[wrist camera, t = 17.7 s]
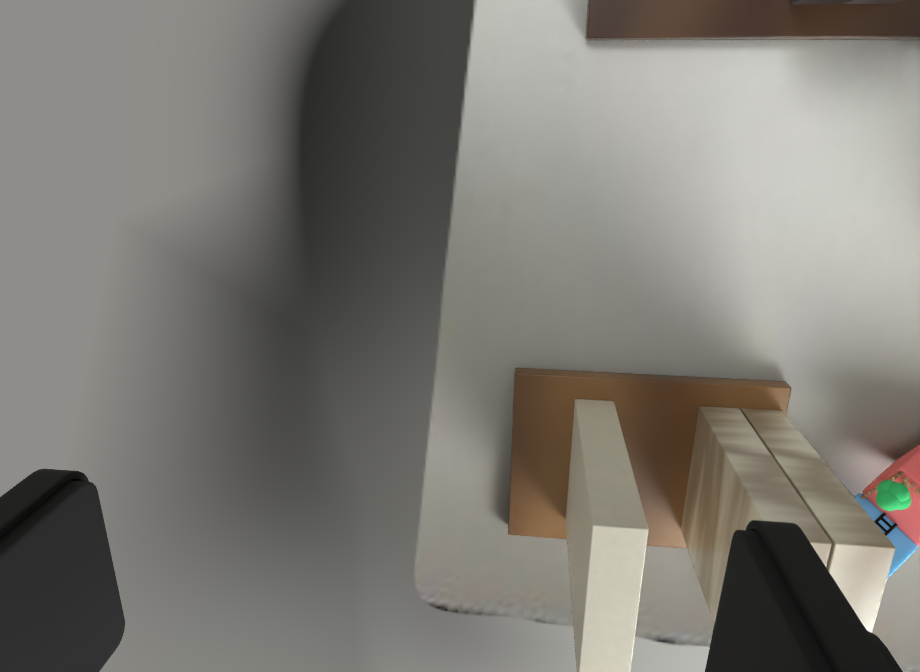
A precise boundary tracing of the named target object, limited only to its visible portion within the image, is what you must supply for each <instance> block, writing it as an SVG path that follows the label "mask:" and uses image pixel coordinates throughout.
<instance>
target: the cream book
mask: <svg viewBox="0 0 920 672" xmlns="http://www.w3.org/2000/svg"><path fill="white" fill-rule="evenodd" d="M648 530H649V529H648V526H647V522H646V518H645V515H644V511H643V507H642V503H641V500H640V496H639V492H638V489H637V485H636V481H635V478H634V474H633V470H632V467H631V463H630V459H629V455H628V452H627V448H626V444H625V441H624V437H623V433H622V430H621V426H620V422H619V419H618V415H617V411H616V408H615V404H614V401H602V400H584V399H575V405H574V418H573V432H572V445H571V458H570V471H569V484H568V497H567V510H566V531H567V544H568V558H569V572H570V585H571V599H572V613H573V626H574V640H575V653H576V667H577V672H630V670H631V663H632V655H633V646H634V639H635V631H636V623H637V616H638V608H639V600H640V592H641V584H642V576H643V569H644V561H645V553H646V545H647V537H648Z"/></svg>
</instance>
